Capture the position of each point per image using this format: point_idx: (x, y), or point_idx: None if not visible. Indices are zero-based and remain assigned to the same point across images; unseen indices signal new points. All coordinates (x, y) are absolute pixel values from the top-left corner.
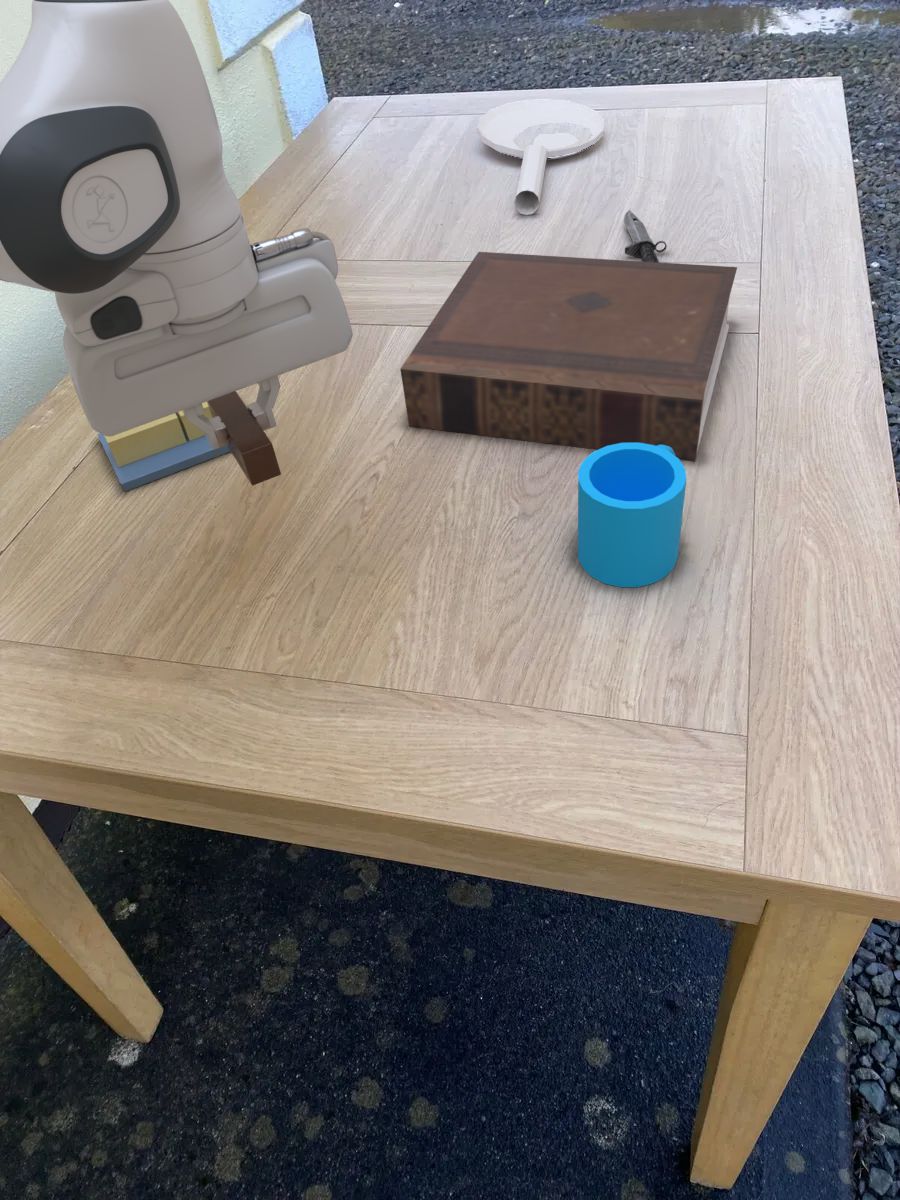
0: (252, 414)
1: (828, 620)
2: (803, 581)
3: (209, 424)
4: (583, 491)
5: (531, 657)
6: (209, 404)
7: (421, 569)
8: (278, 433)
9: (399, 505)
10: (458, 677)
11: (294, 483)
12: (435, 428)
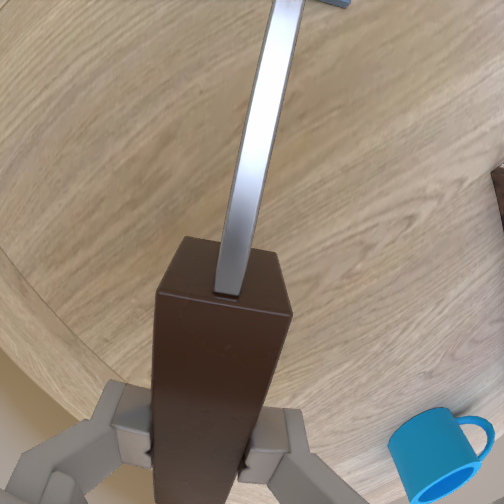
0: (241, 467)
1: None
2: None
3: (106, 473)
4: (419, 490)
5: None
6: (153, 330)
7: (322, 380)
8: (376, 19)
9: (386, 289)
10: None
11: (327, 137)
12: (499, 206)
